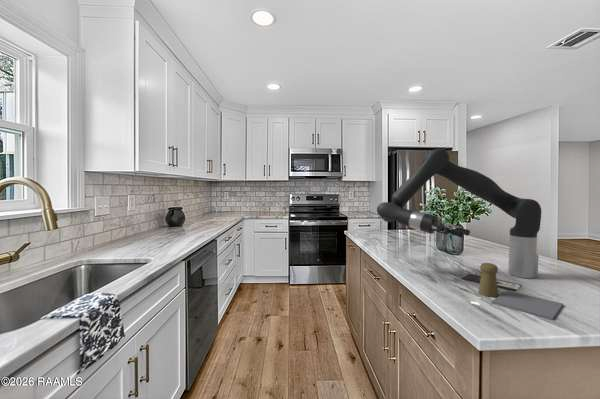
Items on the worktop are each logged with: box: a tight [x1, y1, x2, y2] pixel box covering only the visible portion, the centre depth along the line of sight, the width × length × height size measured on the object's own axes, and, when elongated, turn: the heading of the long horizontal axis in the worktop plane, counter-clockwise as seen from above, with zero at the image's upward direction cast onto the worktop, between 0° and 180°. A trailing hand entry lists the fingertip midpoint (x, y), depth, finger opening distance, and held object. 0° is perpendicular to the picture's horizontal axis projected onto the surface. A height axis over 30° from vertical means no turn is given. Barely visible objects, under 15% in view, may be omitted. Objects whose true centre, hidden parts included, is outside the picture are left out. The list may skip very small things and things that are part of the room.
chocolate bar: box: [461, 273, 522, 292], centre depth 112 cm, size 9×1×18 cm
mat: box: [491, 289, 564, 321], centre depth 91 cm, size 15×16×1 cm
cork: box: [477, 262, 499, 299], centre depth 100 cm, size 6×6×11 cm
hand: (466, 233), depth 104 cm, fingers open, 8 cm apart
